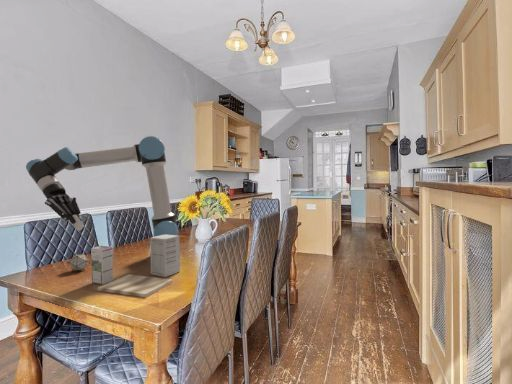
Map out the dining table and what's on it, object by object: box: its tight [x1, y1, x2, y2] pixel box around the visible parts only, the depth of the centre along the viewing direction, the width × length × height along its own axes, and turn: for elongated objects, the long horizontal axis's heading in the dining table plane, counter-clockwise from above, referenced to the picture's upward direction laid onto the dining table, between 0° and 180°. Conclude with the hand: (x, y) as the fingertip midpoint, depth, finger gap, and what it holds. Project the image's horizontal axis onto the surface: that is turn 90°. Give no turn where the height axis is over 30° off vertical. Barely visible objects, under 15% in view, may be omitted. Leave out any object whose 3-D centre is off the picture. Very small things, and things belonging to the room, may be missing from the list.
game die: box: [66, 252, 91, 273], centre depth 129 cm, size 9×8×10 cm
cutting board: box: [97, 273, 173, 299], centre depth 109 cm, size 22×16×1 cm
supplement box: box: [149, 234, 181, 278], centre depth 125 cm, size 10×9×17 cm
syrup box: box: [90, 245, 114, 285], centre depth 114 cm, size 6×6×14 cm
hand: (81, 228), depth 116 cm, fingers closed
